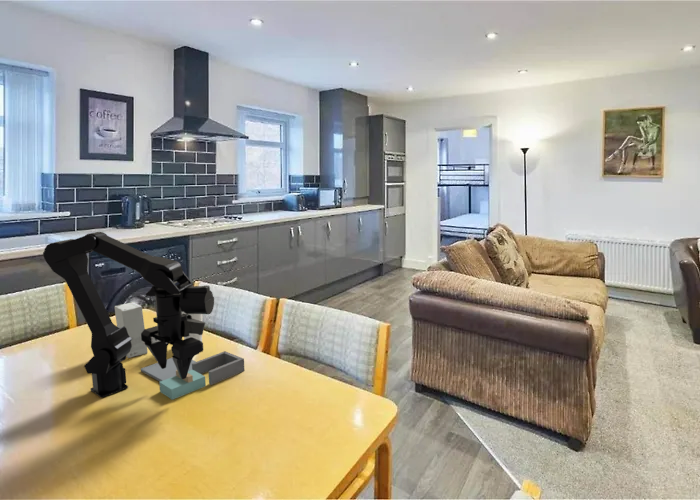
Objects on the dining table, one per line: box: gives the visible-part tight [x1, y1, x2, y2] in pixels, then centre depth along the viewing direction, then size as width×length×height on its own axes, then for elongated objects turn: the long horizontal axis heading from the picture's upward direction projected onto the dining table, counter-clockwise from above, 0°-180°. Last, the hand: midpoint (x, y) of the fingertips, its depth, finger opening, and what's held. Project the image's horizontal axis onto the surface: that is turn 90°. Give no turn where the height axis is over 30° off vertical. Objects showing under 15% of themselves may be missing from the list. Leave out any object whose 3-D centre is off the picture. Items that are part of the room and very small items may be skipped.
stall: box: [192, 350, 245, 386], centre depth 117 cm, size 11×9×4 cm
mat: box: [140, 357, 197, 382], centre depth 119 cm, size 12×12×1 cm
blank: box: [158, 370, 206, 401], centre depth 108 cm, size 9×6×4 cm, turn 140°
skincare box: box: [114, 301, 149, 359], centre depth 130 cm, size 8×6×15 cm
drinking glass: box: [182, 312, 204, 343], centre depth 136 cm, size 7×7×15 cm
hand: (173, 373), depth 106 cm, fingers open, 9 cm apart
